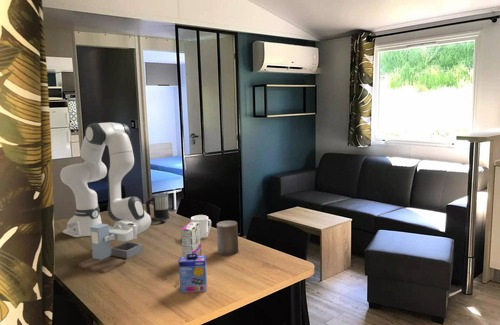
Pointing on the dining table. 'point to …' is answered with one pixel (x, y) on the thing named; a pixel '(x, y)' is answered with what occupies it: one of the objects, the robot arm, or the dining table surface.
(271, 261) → the dining table surface
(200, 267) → the ink cartridge box
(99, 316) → the dining table surface
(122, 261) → the walnut board
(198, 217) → the mug
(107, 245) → the slate box
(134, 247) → the gray bin
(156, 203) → the milk frother
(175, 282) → the dining table surface
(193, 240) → the candy bar box
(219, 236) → the pillar candle
